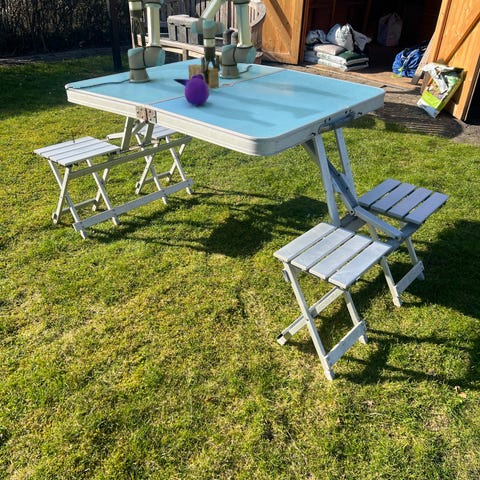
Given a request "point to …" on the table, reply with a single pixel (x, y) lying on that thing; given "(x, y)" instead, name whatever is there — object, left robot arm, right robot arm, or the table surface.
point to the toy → (195, 89)
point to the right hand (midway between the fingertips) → (211, 83)
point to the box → (212, 75)
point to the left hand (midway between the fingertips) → (140, 45)
